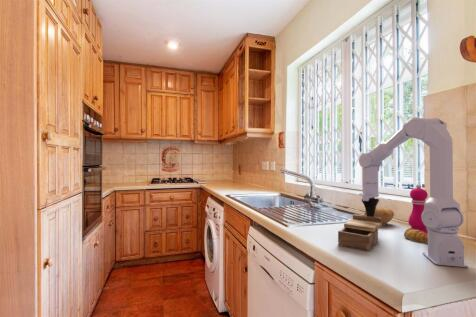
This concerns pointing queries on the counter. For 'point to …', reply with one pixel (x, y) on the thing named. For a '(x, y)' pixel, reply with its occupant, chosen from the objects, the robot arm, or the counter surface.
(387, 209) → the potato
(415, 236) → the pastry
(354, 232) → the keepsake box
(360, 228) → the lid
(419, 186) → the pepper mill
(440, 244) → the robot arm
